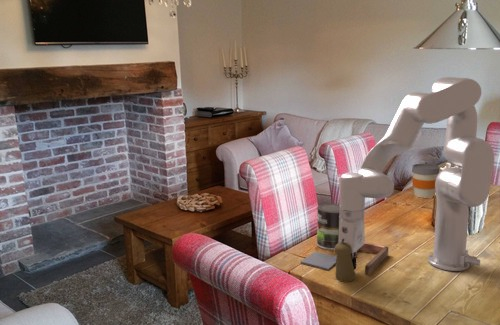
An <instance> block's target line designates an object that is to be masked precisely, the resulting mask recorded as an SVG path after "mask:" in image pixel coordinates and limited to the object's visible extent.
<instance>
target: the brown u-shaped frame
mask: <svg viewBox="0 0 500 325" xmlns="http://www.w3.org/2000/svg"><path fill="white" fill-rule="evenodd" d="M359 251H360V252H363V253H364V252H366V253H369V254H375V255H374V257H372V258H371V259H370V260H369V261H368V263H366V265H364V276H370V275H371V274H372V273H373V272H374V270H376V268H377V267H379V266H380V264H382V262H383V261H384V260H385V259H386V258H387V257H388V256H389V246H386V245H380V244H375V243H370V242H366V241H365V243H364V245H363V246H362V247H361V248H359V249H358V250H357V253H358V252H359ZM336 259H337V258H336Z"/></svg>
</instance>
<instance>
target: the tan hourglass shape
mask: <svg viewBox="0 0 500 325" xmlns="http://www.w3.org/2000/svg"><path fill="white" fill-rule="evenodd" d="M333 251H334V254H335V256H336V257H337V259H336V264H335V279H336V280H338V281H340V282H344V283H345V282H350V281H353V280H354V279H355V278H356V272H355V270H354V267H353V263H352V259H351V253H352V249H351V247H350V246H349V245H347V243H338V244H336V246H335V248H334V250H333Z"/></svg>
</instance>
